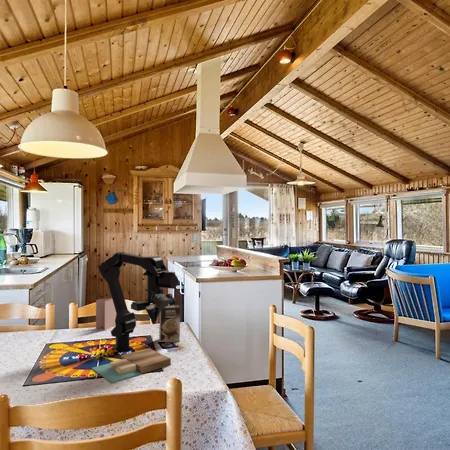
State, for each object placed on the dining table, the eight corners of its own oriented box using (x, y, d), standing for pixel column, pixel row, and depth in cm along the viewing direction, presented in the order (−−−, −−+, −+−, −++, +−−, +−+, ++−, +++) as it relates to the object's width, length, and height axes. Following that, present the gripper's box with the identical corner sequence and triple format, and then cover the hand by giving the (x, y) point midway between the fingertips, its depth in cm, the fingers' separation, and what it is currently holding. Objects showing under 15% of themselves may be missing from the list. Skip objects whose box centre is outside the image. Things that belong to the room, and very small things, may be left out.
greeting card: (116, 324, 203) (116, 296, 203) (121, 327, 198) (122, 299, 198) (95, 328, 196) (95, 299, 196) (100, 331, 190) (100, 301, 190)
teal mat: (91, 368, 141) (91, 367, 141) (118, 361, 149) (118, 360, 149) (112, 383, 129) (112, 382, 129) (140, 374, 136) (140, 373, 136)
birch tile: (110, 367, 142) (110, 362, 142) (124, 363, 146) (124, 358, 146) (121, 374, 135) (121, 369, 135) (136, 370, 139) (136, 365, 139)
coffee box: (160, 343, 172) (160, 308, 172) (159, 339, 178) (159, 305, 178) (180, 341, 174) (180, 307, 174) (178, 337, 180) (178, 304, 180)
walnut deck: (120, 361, 149) (120, 355, 149) (149, 354, 157) (149, 348, 157) (141, 373, 137) (141, 367, 137) (170, 365, 146) (170, 358, 145)
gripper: (144, 292, 144) (144, 332, 144) (183, 286, 157) (183, 323, 157) (130, 288, 152) (130, 326, 152) (168, 283, 165) (168, 318, 165)
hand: (153, 323), depth 156 cm, fingers closed
